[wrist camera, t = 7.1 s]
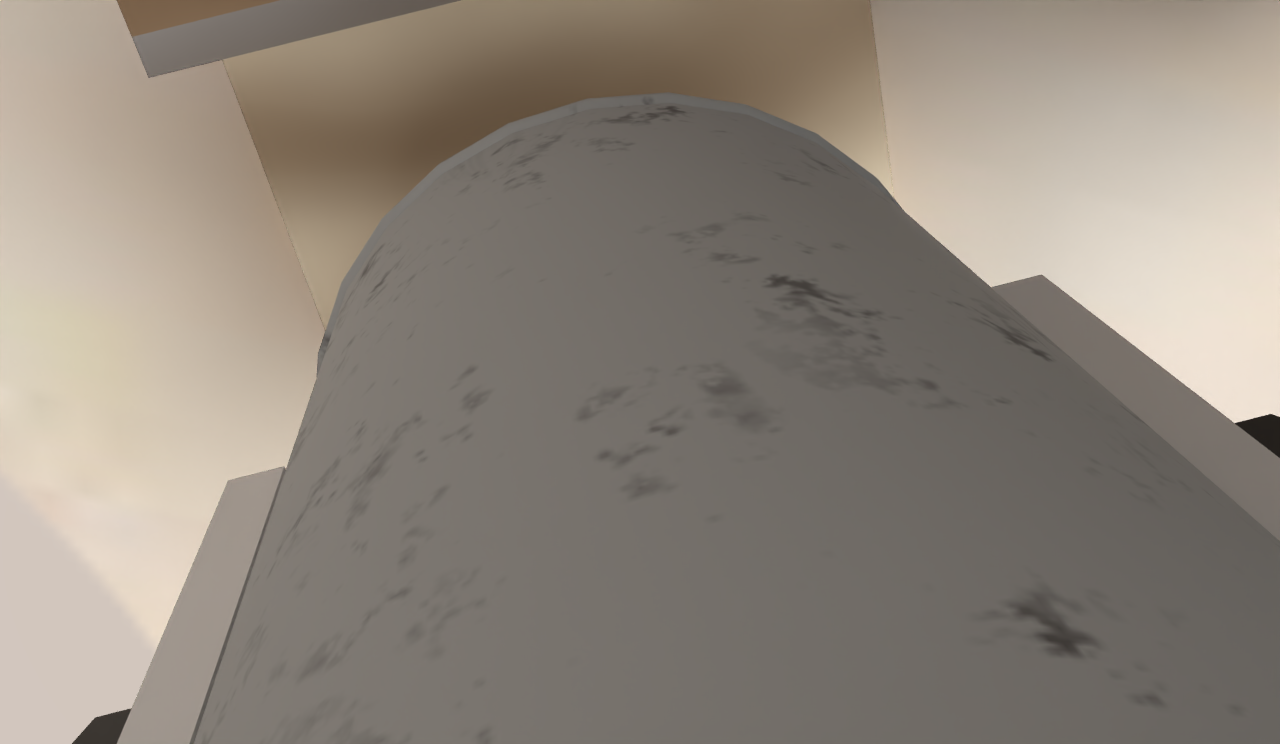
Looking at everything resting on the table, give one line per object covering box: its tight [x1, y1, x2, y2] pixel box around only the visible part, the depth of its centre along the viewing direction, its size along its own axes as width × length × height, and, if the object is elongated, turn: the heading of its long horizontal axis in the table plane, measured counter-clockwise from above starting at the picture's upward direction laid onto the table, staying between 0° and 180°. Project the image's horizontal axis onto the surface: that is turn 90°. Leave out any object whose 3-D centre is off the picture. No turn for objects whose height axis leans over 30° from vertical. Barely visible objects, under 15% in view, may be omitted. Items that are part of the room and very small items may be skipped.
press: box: [117, 0, 894, 331], centre depth 24 cm, size 28×13×7 cm, turn 13°
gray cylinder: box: [194, 92, 1280, 744], centre depth 11 cm, size 10×10×12 cm
